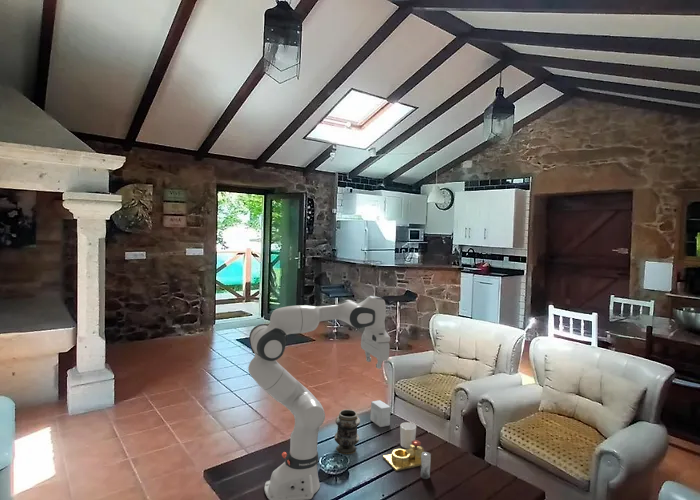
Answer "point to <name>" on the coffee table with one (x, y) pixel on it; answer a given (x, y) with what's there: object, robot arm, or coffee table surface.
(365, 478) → the coffee table surface
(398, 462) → the brass valve fitting
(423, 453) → the silver metal cylinder
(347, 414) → the apothecary jar
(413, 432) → the white cup
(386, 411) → the skincare box
